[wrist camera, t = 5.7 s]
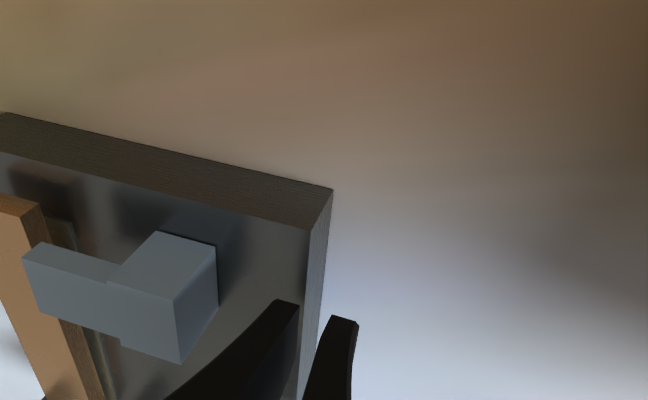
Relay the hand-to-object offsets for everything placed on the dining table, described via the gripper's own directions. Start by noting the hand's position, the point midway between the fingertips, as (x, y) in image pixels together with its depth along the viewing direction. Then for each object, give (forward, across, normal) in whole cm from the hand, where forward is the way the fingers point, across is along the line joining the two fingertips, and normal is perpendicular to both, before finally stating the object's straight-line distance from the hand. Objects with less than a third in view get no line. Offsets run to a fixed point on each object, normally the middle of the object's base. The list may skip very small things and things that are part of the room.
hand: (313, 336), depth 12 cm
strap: (+1, +9, +5) cm, 10 cm away
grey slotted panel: (+3, +6, +4) cm, 8 cm away
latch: (+1, +5, 0) cm, 5 cm away
